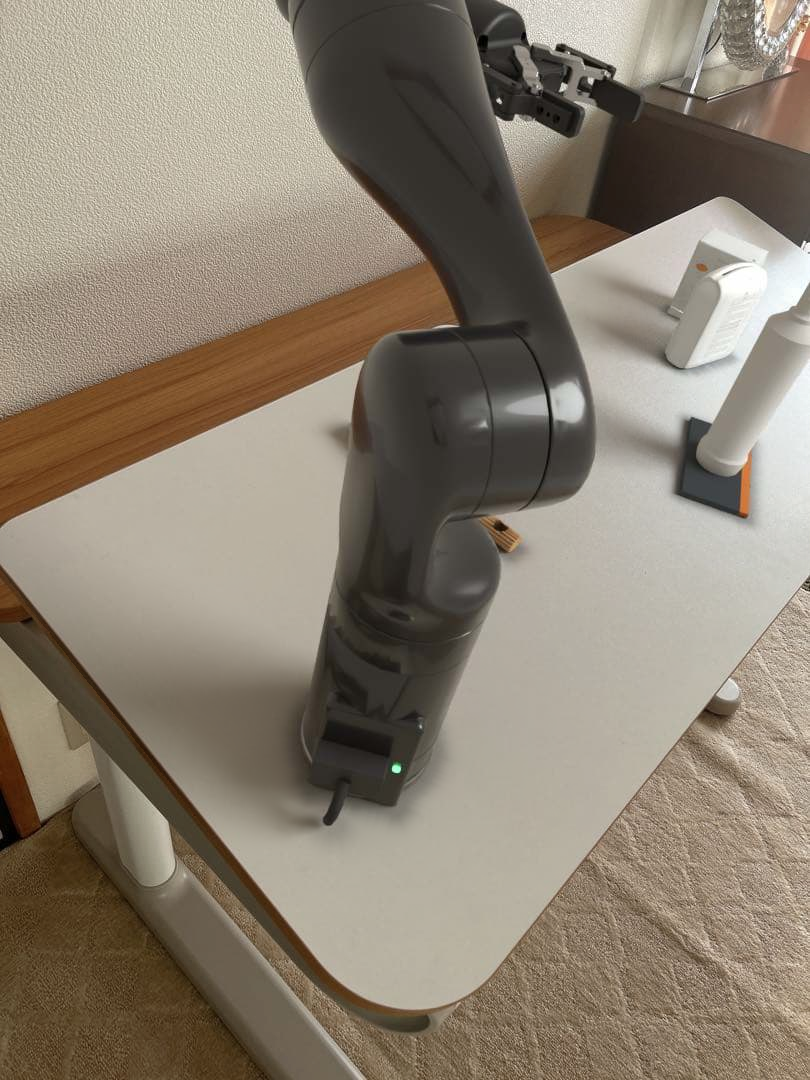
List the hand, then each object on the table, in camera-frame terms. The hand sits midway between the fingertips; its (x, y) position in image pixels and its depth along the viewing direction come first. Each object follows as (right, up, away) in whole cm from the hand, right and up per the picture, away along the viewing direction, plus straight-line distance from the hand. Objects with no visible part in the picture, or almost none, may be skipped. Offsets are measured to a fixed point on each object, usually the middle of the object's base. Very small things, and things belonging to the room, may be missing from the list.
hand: (610, 117), depth 68 cm
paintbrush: (-14, -28, +15) cm, 34 cm away
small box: (+23, -3, +49) cm, 54 cm away
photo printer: (+20, -10, +42) cm, 48 cm away
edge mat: (+17, -25, +26) cm, 40 cm away
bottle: (+17, -24, +26) cm, 40 cm away
